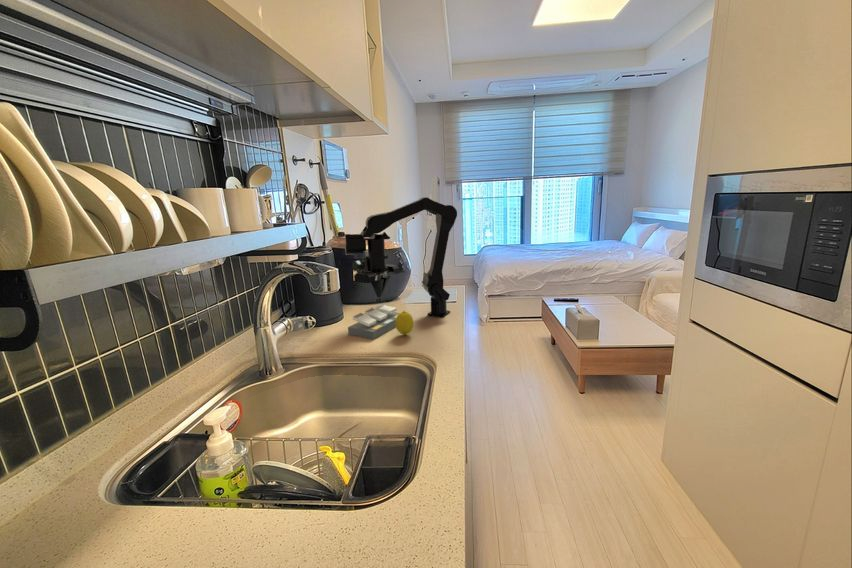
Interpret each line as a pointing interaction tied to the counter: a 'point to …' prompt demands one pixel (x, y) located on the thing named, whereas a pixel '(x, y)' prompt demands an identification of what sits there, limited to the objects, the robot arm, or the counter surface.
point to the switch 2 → (386, 309)
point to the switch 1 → (364, 319)
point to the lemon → (404, 323)
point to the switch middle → (375, 314)
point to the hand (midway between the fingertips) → (379, 297)
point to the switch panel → (374, 327)
